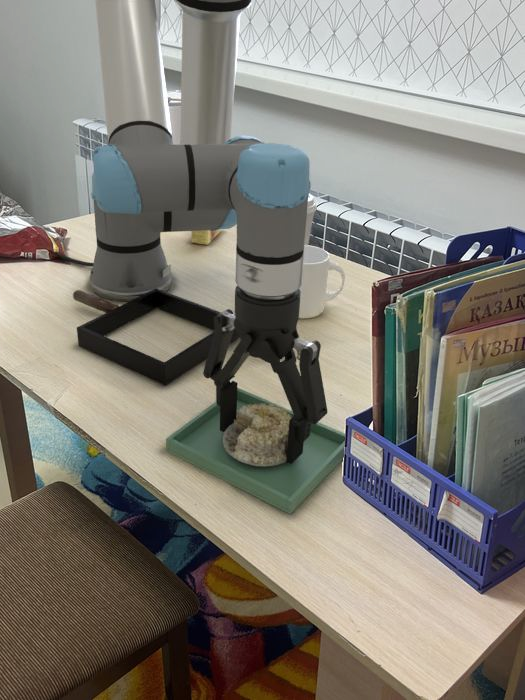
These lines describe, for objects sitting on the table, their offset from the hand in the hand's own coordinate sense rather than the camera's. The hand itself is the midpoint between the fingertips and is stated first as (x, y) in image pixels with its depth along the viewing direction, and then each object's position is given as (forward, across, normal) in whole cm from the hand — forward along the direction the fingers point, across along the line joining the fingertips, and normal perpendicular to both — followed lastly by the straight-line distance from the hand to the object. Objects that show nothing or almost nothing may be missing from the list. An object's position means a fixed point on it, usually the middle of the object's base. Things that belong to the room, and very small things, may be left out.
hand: (260, 441), depth 90 cm
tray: (+1, 0, 0) cm, 1 cm away
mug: (+2, -16, +39) cm, 42 cm away
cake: (0, 0, 0) cm, 0 cm away
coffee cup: (+2, -29, +52) cm, 60 cm away
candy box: (+2, -52, +54) cm, 75 cm away
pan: (+1, -34, +13) cm, 37 cm away
